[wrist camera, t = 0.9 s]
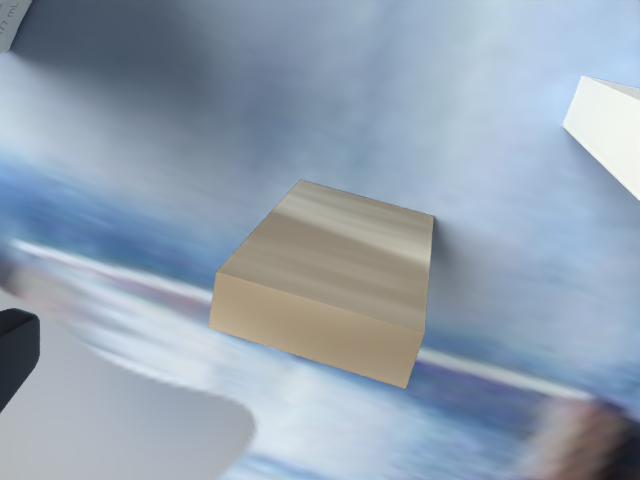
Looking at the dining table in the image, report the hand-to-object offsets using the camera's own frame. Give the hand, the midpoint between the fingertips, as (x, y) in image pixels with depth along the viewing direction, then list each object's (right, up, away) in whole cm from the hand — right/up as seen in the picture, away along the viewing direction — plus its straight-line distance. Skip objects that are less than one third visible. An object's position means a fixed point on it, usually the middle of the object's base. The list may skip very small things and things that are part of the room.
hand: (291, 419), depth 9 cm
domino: (+2, +4, +11) cm, 12 cm away
